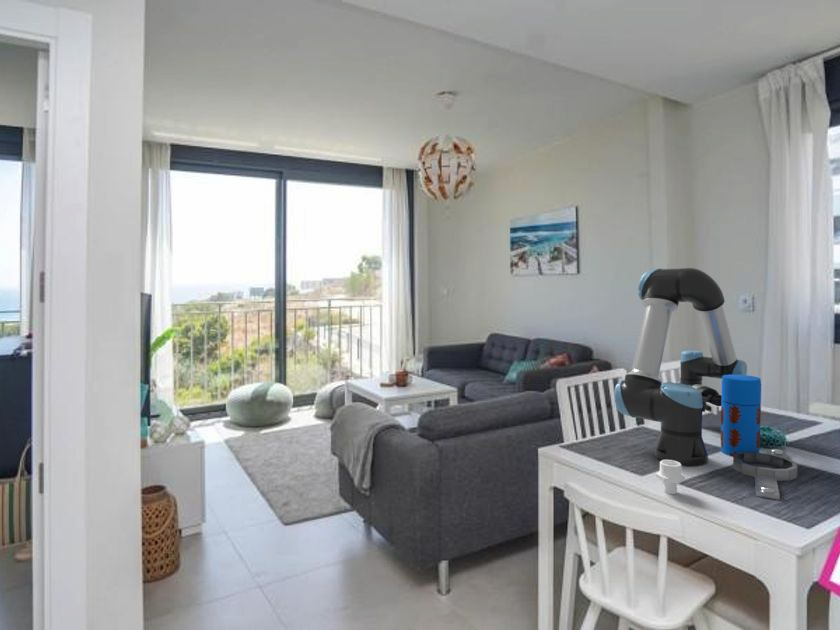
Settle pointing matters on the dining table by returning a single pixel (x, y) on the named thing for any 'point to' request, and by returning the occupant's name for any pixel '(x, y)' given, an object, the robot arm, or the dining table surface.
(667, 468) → the pipe fitting
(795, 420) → the dining table surface
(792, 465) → the grey handled tray
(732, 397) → the thermos
